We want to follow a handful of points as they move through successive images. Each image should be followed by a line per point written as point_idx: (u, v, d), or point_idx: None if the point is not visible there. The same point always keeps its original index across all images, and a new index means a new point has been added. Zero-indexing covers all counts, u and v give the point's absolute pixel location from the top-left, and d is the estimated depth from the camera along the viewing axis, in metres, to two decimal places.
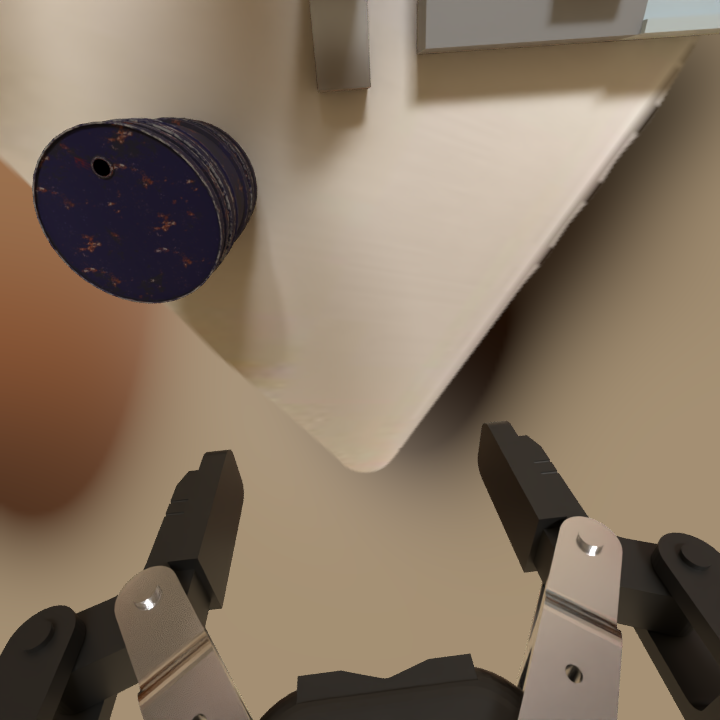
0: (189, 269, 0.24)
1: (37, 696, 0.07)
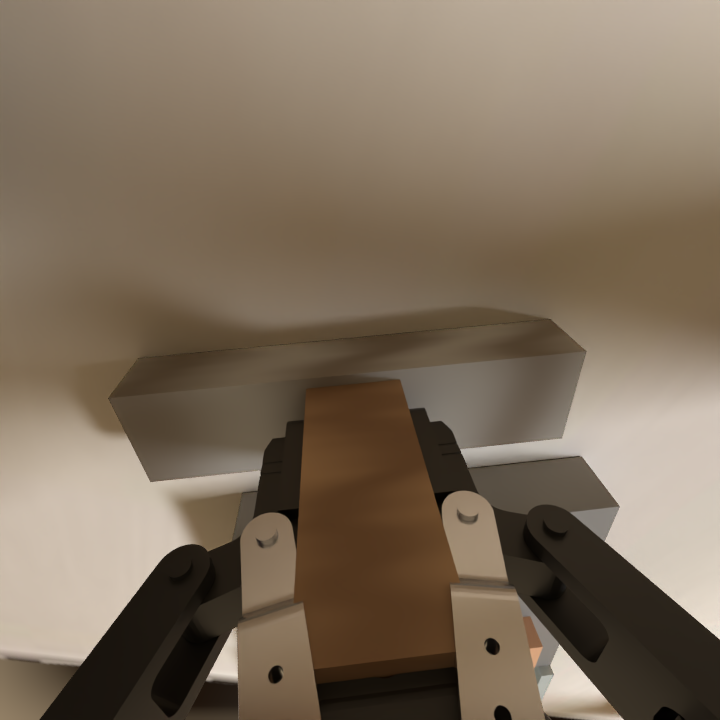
0: None
1: (167, 623, 0.08)
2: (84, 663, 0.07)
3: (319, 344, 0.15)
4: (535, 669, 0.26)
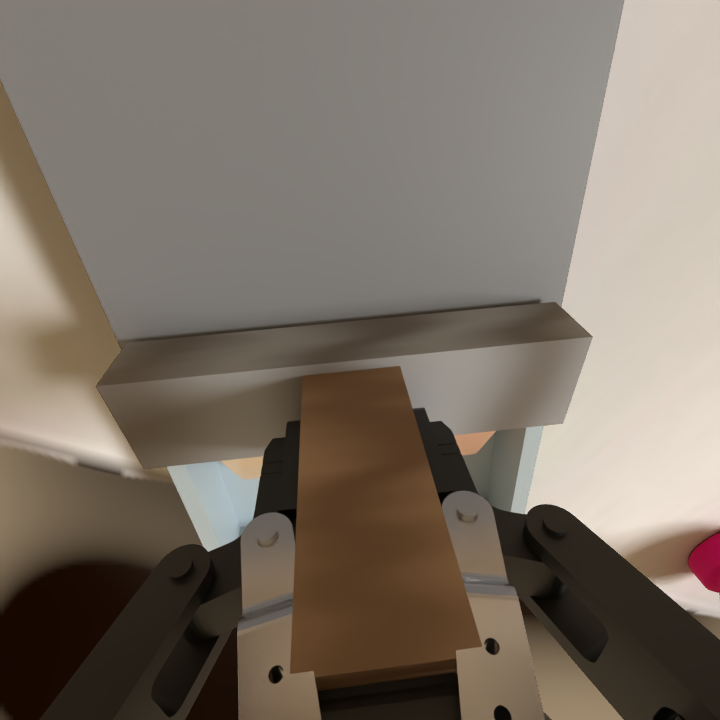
0: None
1: (167, 623, 0.08)
2: (84, 663, 0.07)
3: (316, 328, 0.14)
4: None
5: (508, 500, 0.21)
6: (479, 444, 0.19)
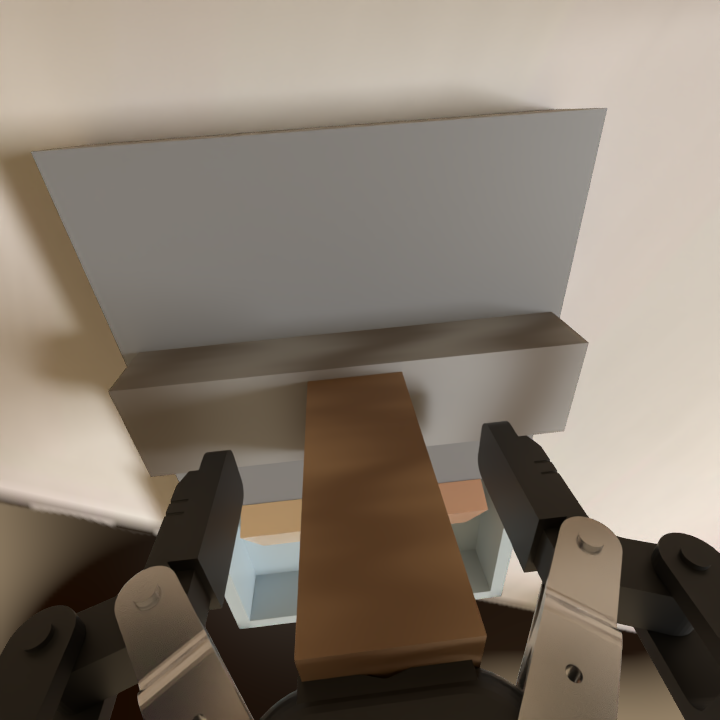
0: None
1: (37, 696, 0.07)
2: None
3: (320, 337, 0.15)
4: None
5: (492, 561, 0.24)
6: (468, 518, 0.22)
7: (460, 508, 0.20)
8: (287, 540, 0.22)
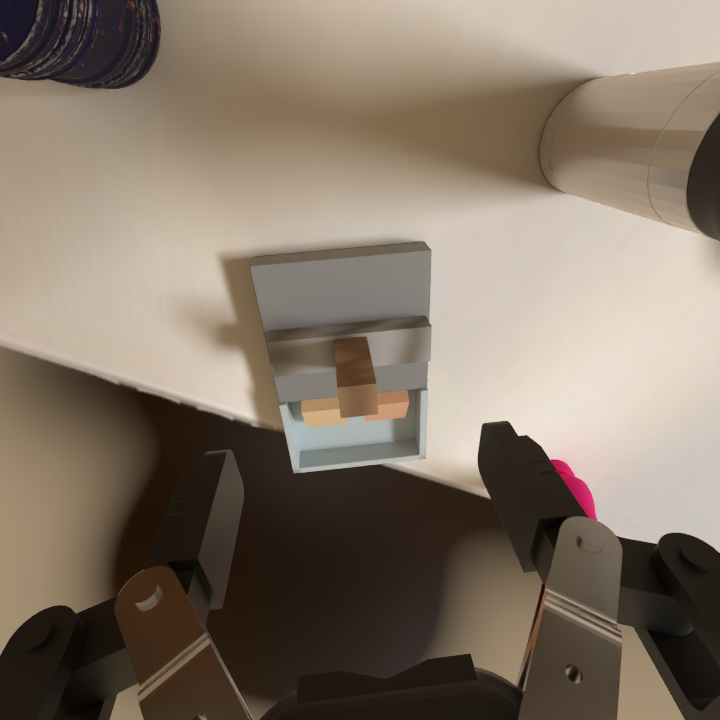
0: None
1: (37, 696, 0.07)
2: None
3: (337, 325, 0.40)
4: (419, 392, 0.46)
5: (419, 437, 0.49)
6: (404, 412, 0.48)
7: (397, 401, 0.45)
8: (319, 422, 0.47)
